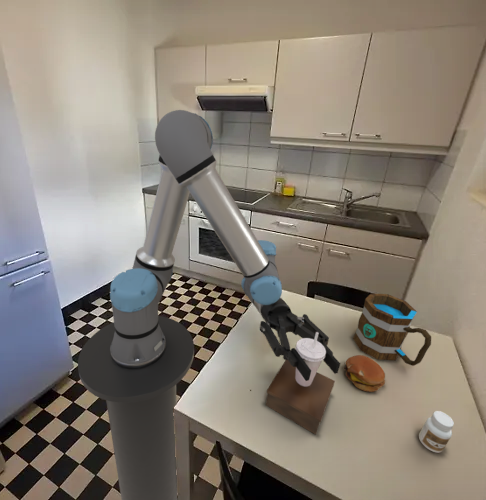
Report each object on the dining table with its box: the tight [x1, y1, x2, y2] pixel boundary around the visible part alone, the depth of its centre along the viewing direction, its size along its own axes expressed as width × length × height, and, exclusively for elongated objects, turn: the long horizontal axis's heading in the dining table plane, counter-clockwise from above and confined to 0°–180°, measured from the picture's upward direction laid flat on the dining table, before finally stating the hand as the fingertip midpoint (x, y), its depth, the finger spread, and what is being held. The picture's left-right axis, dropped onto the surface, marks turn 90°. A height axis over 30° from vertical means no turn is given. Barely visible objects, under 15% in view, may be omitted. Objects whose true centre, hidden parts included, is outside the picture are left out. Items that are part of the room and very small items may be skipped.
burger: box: [343, 354, 386, 393], centre depth 74 cm, size 10×9×5 cm
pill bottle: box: [418, 410, 455, 454], centre depth 58 cm, size 4×4×8 cm
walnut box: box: [265, 360, 336, 436], centre depth 67 cm, size 12×12×5 cm
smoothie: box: [294, 332, 326, 386], centre depth 62 cm, size 6×6×14 cm
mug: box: [352, 292, 432, 367], centre depth 82 cm, size 20×14×15 cm
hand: (323, 372), depth 57 cm, fingers closed on smoothie, 6 cm apart
